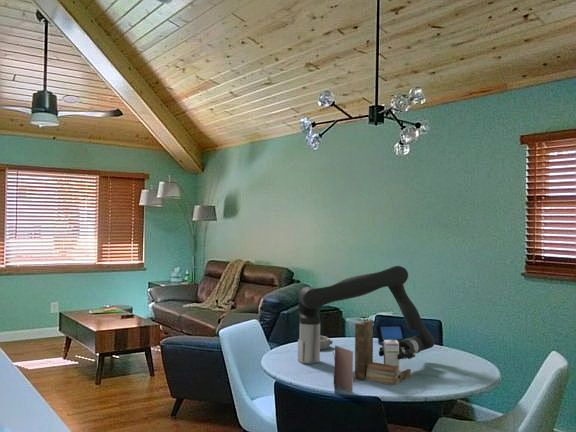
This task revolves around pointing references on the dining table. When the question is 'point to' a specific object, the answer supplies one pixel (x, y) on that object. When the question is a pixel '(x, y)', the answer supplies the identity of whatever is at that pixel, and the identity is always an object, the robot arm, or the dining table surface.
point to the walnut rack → (367, 351)
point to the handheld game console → (390, 333)
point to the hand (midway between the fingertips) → (389, 355)
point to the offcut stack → (382, 373)
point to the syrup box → (391, 352)
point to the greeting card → (343, 368)
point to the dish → (325, 342)
